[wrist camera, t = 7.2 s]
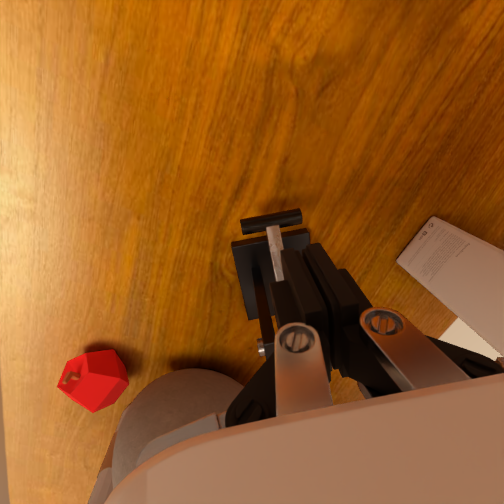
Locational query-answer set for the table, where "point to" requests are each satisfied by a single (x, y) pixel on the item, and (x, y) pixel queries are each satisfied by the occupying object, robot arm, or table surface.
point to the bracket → (262, 280)
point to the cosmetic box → (460, 276)
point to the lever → (273, 233)
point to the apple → (94, 379)
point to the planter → (169, 411)
